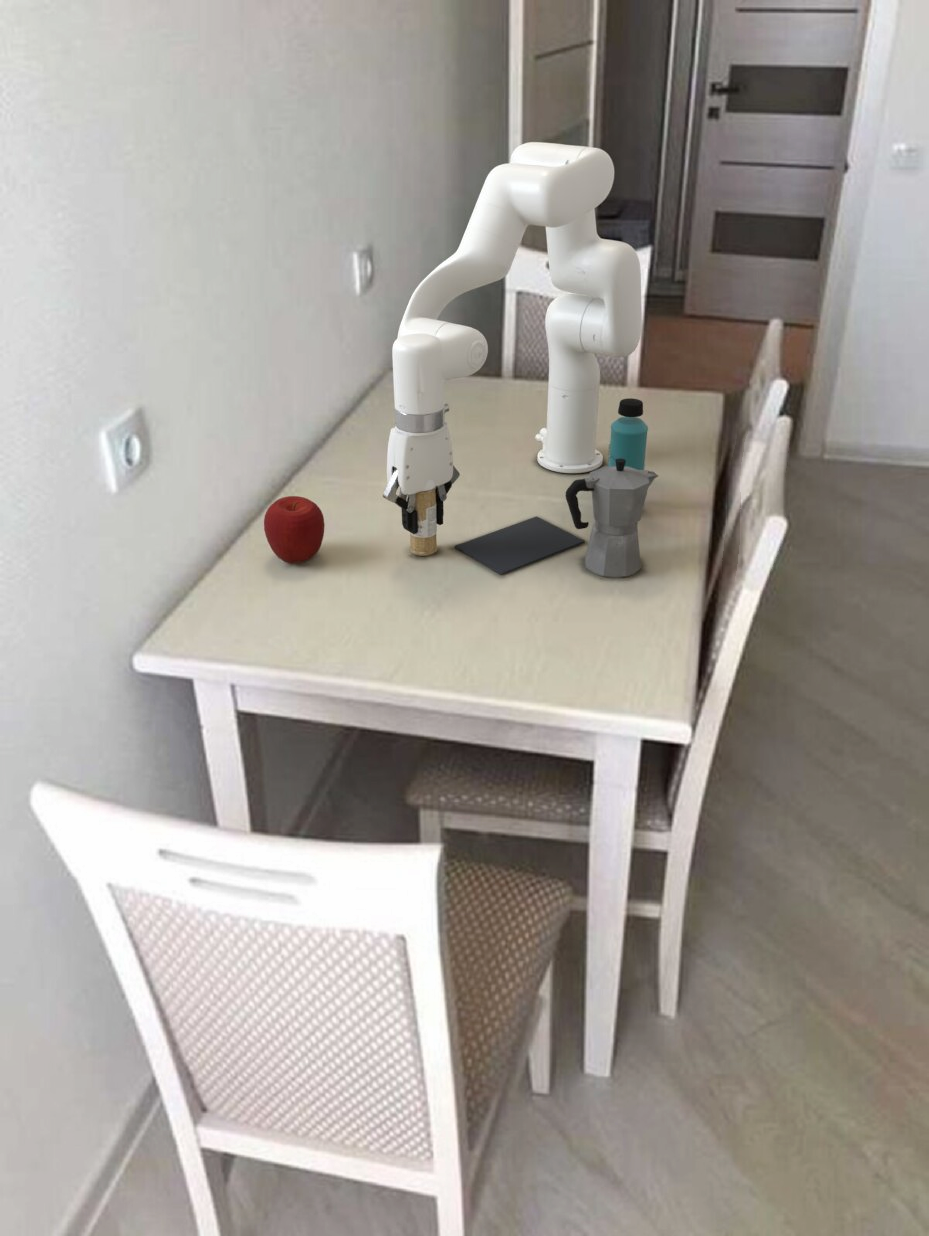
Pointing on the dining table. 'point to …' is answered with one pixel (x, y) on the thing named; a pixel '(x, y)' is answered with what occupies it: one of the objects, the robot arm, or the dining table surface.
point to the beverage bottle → (629, 435)
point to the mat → (519, 545)
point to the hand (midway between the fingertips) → (423, 525)
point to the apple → (294, 528)
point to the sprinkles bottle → (425, 522)
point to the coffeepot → (612, 517)
